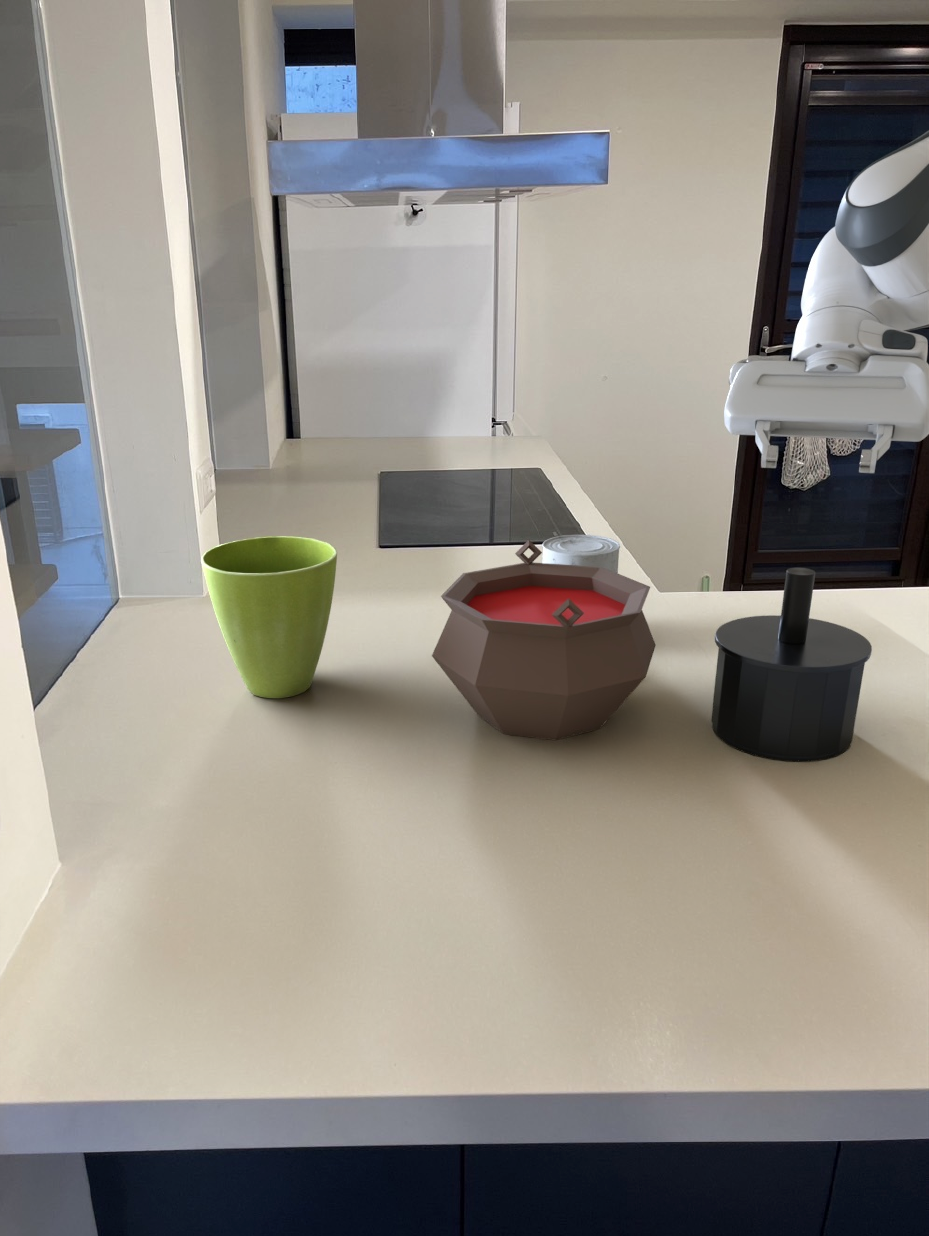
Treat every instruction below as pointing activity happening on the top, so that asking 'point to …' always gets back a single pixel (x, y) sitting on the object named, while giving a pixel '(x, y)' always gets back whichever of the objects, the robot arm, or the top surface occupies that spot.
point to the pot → (784, 710)
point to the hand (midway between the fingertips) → (816, 467)
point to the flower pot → (273, 608)
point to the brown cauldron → (545, 645)
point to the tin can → (582, 551)
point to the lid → (794, 635)
